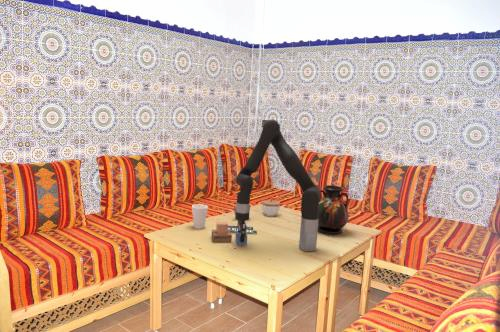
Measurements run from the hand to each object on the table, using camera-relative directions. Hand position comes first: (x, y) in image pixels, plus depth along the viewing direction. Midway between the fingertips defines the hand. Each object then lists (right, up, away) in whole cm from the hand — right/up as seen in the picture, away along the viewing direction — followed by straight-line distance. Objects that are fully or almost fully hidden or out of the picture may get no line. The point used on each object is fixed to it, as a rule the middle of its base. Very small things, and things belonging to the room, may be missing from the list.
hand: (240, 239), depth 215 cm
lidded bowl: (+19, +6, +59) cm, 62 cm away
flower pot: (0, +5, +45) cm, 45 cm away
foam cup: (-26, +3, +24) cm, 35 cm away
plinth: (-11, -1, +5) cm, 12 cm away
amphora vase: (+54, -1, +30) cm, 62 cm away
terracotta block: (-11, +3, +4) cm, 12 cm away
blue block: (0, -2, 0) cm, 2 cm away
